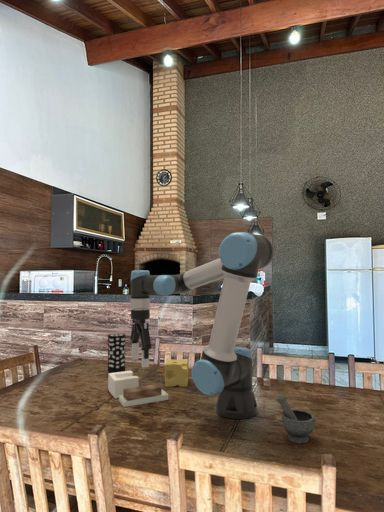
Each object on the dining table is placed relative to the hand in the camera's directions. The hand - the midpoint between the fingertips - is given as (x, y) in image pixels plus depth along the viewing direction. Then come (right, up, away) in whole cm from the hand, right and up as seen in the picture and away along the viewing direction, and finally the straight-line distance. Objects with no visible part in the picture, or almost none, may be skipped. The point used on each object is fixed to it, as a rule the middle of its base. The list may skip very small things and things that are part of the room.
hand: (140, 363), depth 144 cm
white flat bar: (+1, -15, 0) cm, 15 cm away
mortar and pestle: (+52, -13, -33) cm, 63 cm away
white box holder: (-9, -15, +10) cm, 20 cm away
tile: (+1, -13, -1) cm, 13 cm away
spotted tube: (-16, -16, +33) cm, 40 cm away
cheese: (+13, -16, +22) cm, 30 cm away
